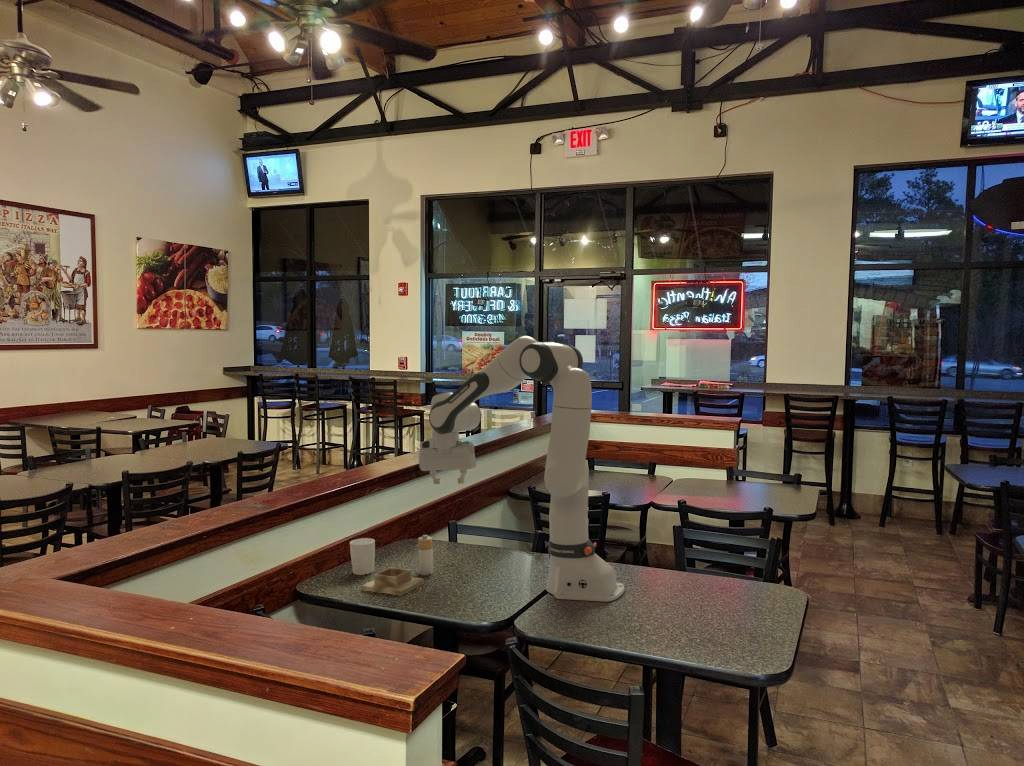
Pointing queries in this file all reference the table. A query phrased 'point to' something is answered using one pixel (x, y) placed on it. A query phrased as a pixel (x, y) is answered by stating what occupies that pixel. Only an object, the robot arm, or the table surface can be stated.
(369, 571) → the white cup
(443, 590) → the table surface
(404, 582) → the charging dock
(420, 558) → the battery cell
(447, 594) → the table surface
